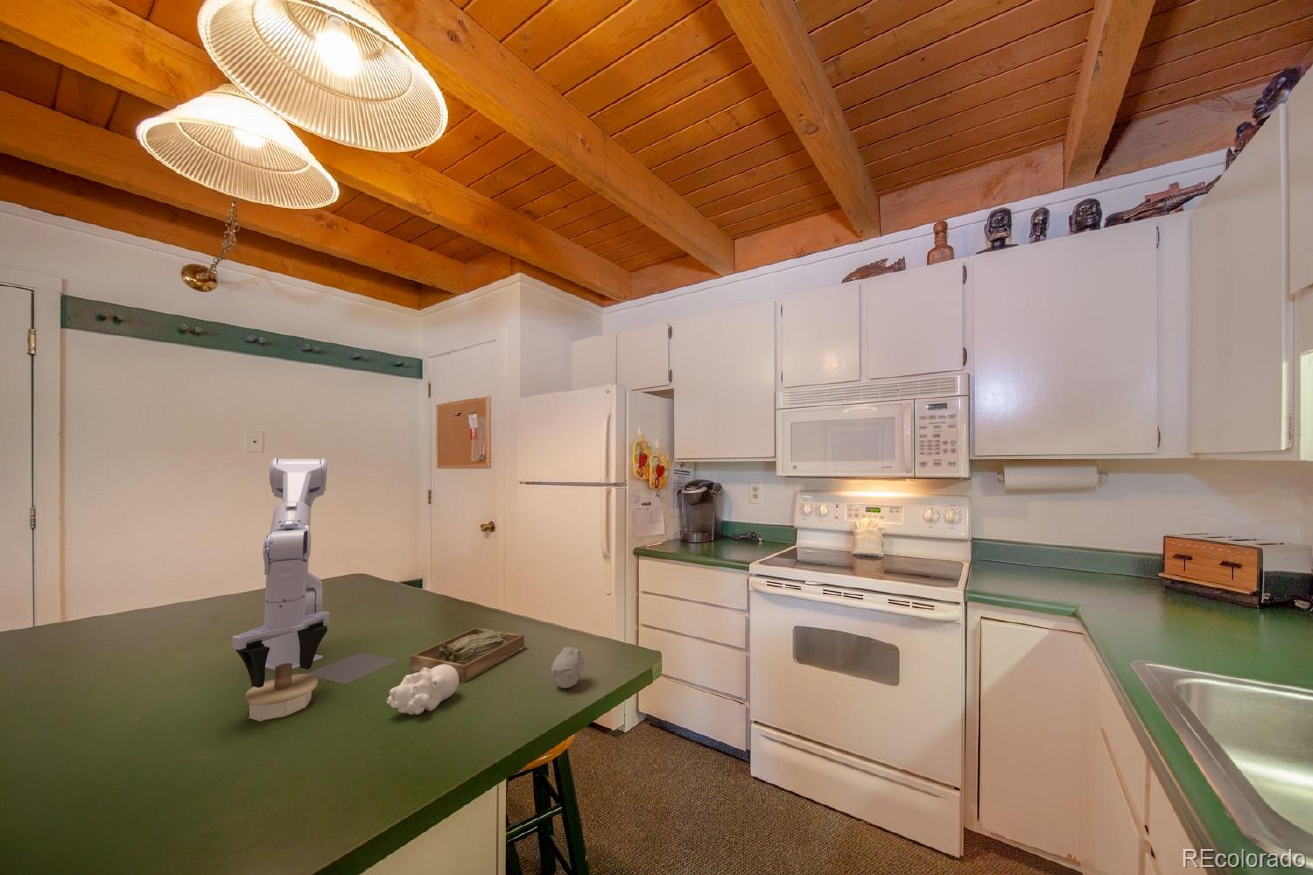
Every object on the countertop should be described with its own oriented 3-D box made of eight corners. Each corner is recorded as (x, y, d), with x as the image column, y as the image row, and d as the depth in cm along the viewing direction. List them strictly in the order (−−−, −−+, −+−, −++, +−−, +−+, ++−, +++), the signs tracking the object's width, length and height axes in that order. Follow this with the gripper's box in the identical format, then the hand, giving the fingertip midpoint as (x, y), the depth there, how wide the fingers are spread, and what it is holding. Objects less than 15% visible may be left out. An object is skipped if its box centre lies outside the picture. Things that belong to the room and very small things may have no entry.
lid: (233, 697, 82) (234, 671, 82) (299, 674, 91) (299, 651, 91) (263, 710, 77) (264, 683, 77) (329, 685, 86) (330, 660, 86)
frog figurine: (590, 681, 94) (591, 645, 94) (570, 697, 87) (570, 658, 88) (565, 676, 96) (565, 640, 97) (543, 690, 90) (543, 653, 90)
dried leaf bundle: (454, 678, 96) (455, 650, 96) (432, 665, 102) (433, 639, 103) (517, 656, 107) (517, 631, 107) (493, 645, 113) (494, 622, 114)
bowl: (240, 714, 82) (241, 696, 82) (291, 694, 89) (292, 677, 89) (269, 724, 79) (270, 705, 79) (319, 702, 86) (320, 684, 86)
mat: (304, 675, 97) (304, 674, 97) (360, 653, 108) (361, 652, 108) (344, 685, 92) (344, 684, 92) (399, 662, 103) (399, 660, 103)
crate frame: (409, 670, 99) (409, 655, 99) (474, 639, 116) (475, 627, 116) (463, 682, 94) (464, 666, 94) (524, 648, 111) (524, 635, 111)
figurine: (472, 684, 87) (412, 709, 77) (453, 706, 89) (392, 733, 78) (455, 651, 90) (395, 671, 80) (437, 673, 92) (376, 695, 81)
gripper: (251, 612, 77) (248, 699, 76) (341, 590, 90) (338, 664, 89) (226, 607, 79) (222, 691, 79) (316, 586, 93) (314, 658, 92)
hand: (282, 676), depth 84 cm, fingers open, 7 cm apart
